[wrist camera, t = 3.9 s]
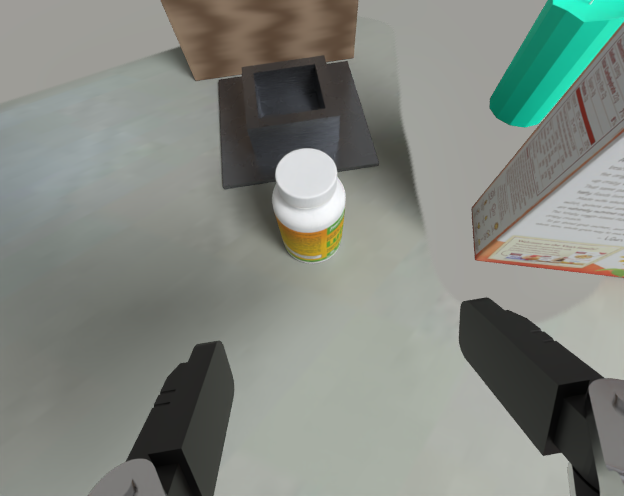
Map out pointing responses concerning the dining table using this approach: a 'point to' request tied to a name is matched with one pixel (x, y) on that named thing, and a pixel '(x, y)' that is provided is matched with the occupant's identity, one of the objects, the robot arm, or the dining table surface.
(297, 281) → the dining table surface
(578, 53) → the candle
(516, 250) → the cracker box
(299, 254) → the supplement bottle
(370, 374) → the dining table surface
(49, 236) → the dining table surface
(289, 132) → the socket
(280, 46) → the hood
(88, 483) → the dining table surface
